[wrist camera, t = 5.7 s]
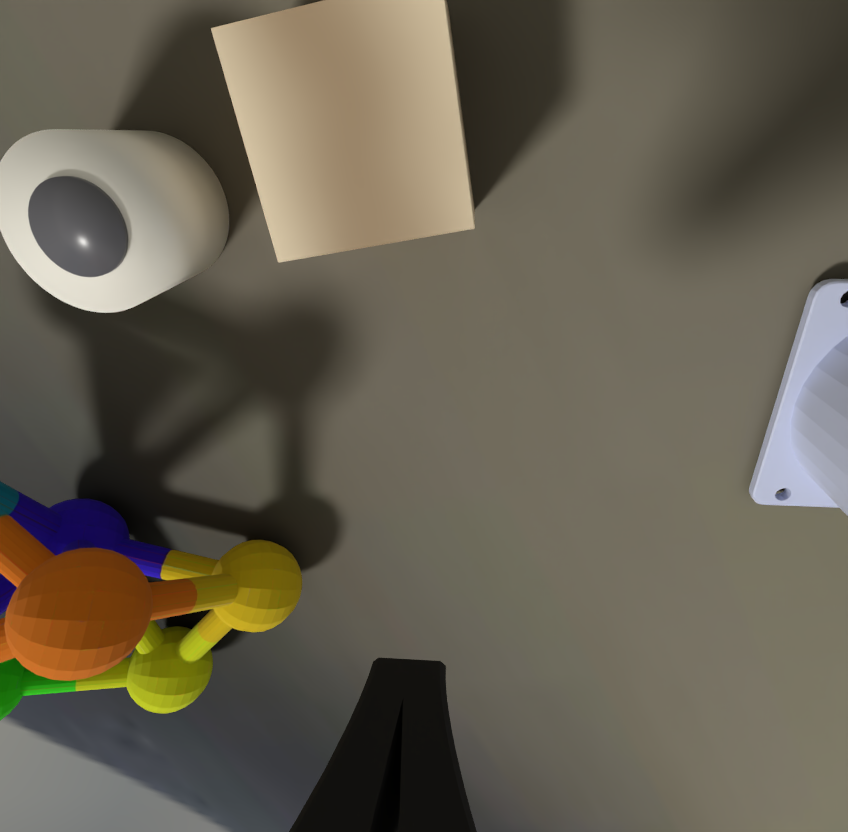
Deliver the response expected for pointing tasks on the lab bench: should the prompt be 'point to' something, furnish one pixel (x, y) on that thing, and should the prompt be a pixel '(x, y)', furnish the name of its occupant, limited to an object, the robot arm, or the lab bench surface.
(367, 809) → the robot arm
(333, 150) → the beech block
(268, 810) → the lab bench surface
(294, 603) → the molecular model
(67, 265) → the offwhite stopper
